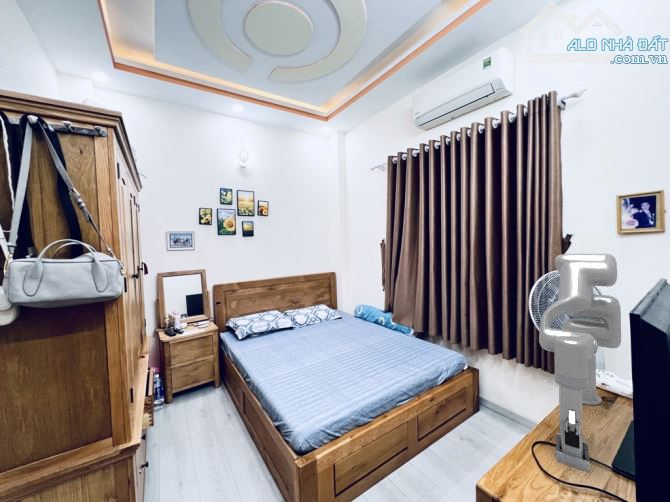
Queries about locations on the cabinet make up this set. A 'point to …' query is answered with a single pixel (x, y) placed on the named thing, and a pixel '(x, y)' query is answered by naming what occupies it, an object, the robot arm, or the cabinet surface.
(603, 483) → the cabinet surface
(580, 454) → the skincare box
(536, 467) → the cabinet surface
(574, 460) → the socket collar
